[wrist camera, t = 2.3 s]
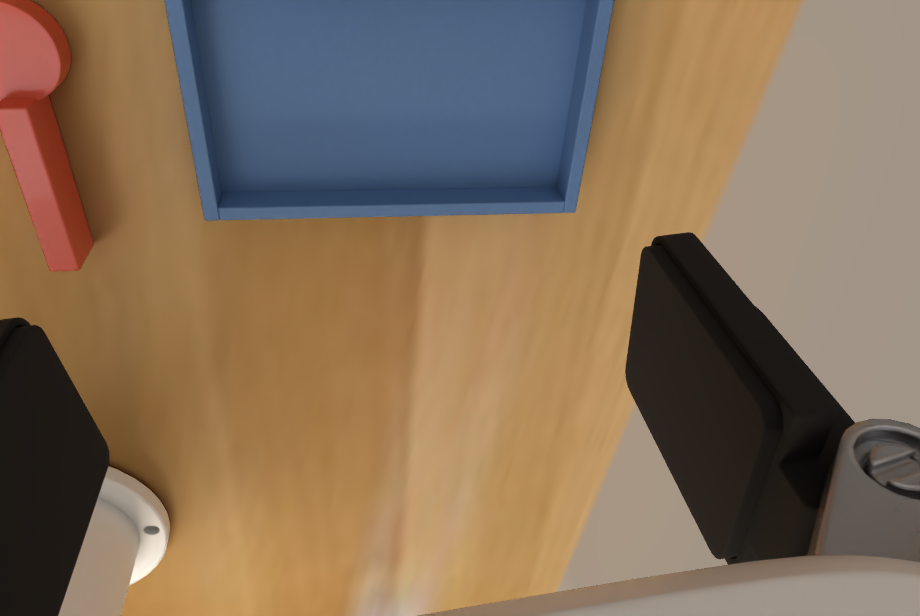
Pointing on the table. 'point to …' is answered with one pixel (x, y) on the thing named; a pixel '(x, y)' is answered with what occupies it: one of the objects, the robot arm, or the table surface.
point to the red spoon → (40, 130)
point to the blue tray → (388, 104)
